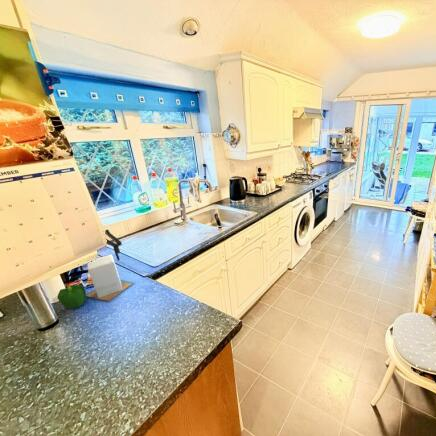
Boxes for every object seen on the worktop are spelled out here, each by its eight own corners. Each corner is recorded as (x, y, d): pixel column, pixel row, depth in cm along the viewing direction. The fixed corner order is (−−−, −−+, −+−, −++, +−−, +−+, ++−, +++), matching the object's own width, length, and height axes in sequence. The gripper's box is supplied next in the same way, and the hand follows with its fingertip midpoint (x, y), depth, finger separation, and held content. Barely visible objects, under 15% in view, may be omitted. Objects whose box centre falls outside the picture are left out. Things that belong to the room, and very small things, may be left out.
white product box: (120, 280, 113) (112, 253, 107) (123, 290, 106) (114, 262, 101) (96, 288, 107) (86, 260, 102) (97, 298, 101) (87, 269, 95)
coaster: (86, 296, 102) (85, 296, 102) (111, 280, 113) (110, 279, 113) (108, 301, 100) (108, 300, 100) (132, 284, 111) (131, 283, 111)
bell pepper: (66, 301, 99) (58, 282, 96) (90, 296, 103) (83, 276, 99) (59, 315, 92) (50, 294, 89) (85, 308, 96) (78, 288, 92)
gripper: (50, 228, 103) (63, 272, 98) (118, 215, 119) (132, 252, 114) (54, 235, 108) (66, 277, 104) (119, 222, 124) (132, 258, 120)
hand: (101, 264), depth 109 cm, fingers open, 13 cm apart
